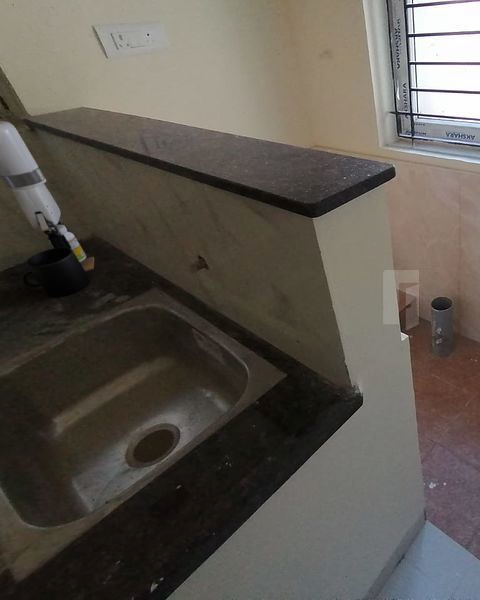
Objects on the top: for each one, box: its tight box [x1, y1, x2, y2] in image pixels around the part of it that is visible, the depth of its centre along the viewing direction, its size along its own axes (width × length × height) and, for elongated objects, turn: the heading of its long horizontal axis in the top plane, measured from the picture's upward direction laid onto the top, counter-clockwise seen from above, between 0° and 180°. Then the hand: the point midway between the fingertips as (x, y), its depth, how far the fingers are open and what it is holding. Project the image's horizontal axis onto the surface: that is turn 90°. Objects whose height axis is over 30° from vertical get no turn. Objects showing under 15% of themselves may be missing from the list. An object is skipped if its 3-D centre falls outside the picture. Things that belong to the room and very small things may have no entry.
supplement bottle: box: [48, 225, 87, 262], centre depth 103 cm, size 5×5×10 cm
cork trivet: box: [80, 256, 95, 272], centre depth 107 cm, size 7×7×1 cm
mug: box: [21, 247, 91, 298], centre depth 96 cm, size 9×12×9 cm
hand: (65, 244), depth 103 cm, fingers closed on supplement bottle, 5 cm apart
